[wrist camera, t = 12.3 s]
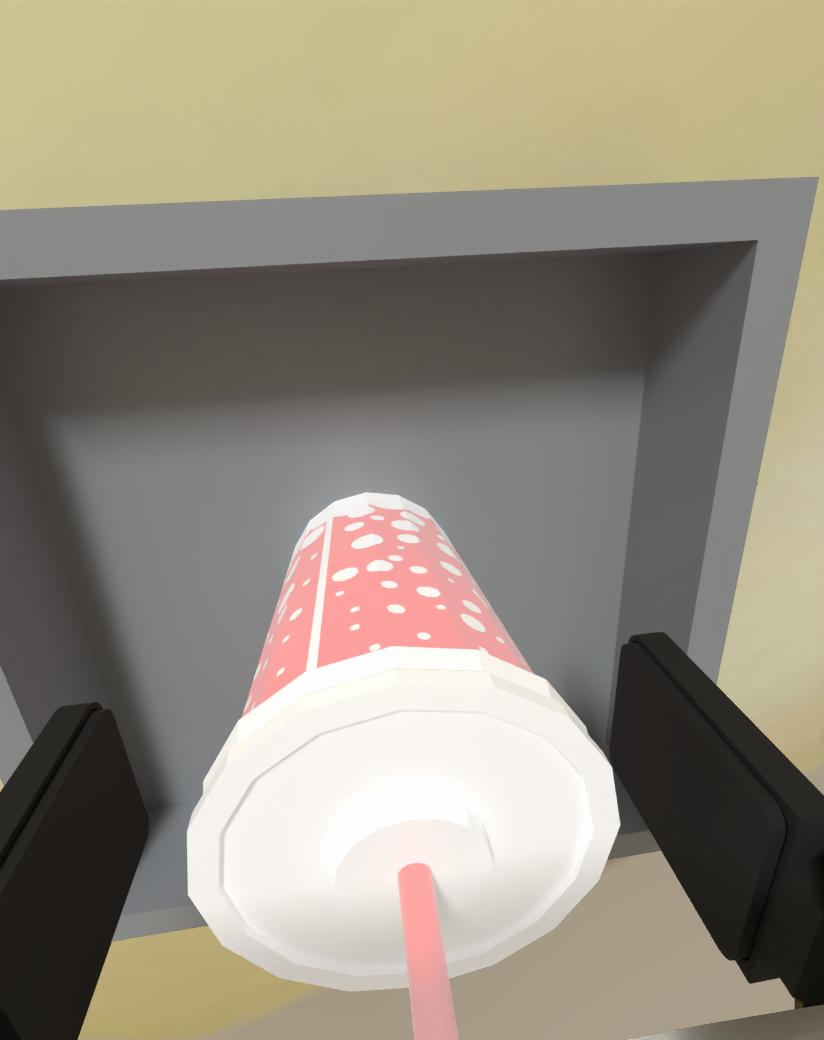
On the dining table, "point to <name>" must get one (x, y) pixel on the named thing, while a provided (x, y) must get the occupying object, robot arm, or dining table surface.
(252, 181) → the dining table surface
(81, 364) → the box
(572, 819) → the beverage cup
